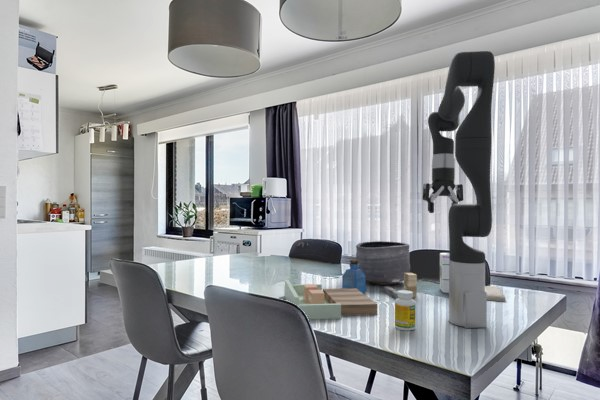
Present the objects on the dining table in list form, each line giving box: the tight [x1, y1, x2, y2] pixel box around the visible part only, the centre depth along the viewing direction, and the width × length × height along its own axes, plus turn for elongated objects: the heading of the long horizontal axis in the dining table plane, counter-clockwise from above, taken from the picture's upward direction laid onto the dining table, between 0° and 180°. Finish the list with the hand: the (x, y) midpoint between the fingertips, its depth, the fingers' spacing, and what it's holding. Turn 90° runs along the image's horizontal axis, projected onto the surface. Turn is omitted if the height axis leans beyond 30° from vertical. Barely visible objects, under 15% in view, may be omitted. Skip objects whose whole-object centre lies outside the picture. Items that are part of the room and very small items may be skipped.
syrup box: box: [439, 252, 449, 294], centre depth 148 cm, size 6×6×14 cm
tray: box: [283, 279, 342, 320], centre depth 124 cm, size 28×13×6 cm, turn 8°
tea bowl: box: [355, 240, 411, 286], centre depth 163 cm, size 25×22×17 cm
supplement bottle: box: [394, 289, 417, 331], centre depth 103 cm, size 5×5×10 cm
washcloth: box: [485, 285, 507, 303], centre depth 143 cm, size 12×18×3 cm, turn 161°
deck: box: [322, 287, 378, 316], centre depth 126 cm, size 22×12×3 cm, turn 8°
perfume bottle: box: [341, 259, 367, 295], centre depth 143 cm, size 6×6×12 cm
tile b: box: [303, 283, 318, 303], centre depth 128 cm, size 5×5×4 cm
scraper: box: [383, 272, 418, 300], centre depth 139 cm, size 16×8×8 cm, turn 9°
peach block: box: [309, 289, 324, 304], centre depth 120 cm, size 5×5×4 cm
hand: (442, 213), depth 137 cm, fingers open, 8 cm apart
